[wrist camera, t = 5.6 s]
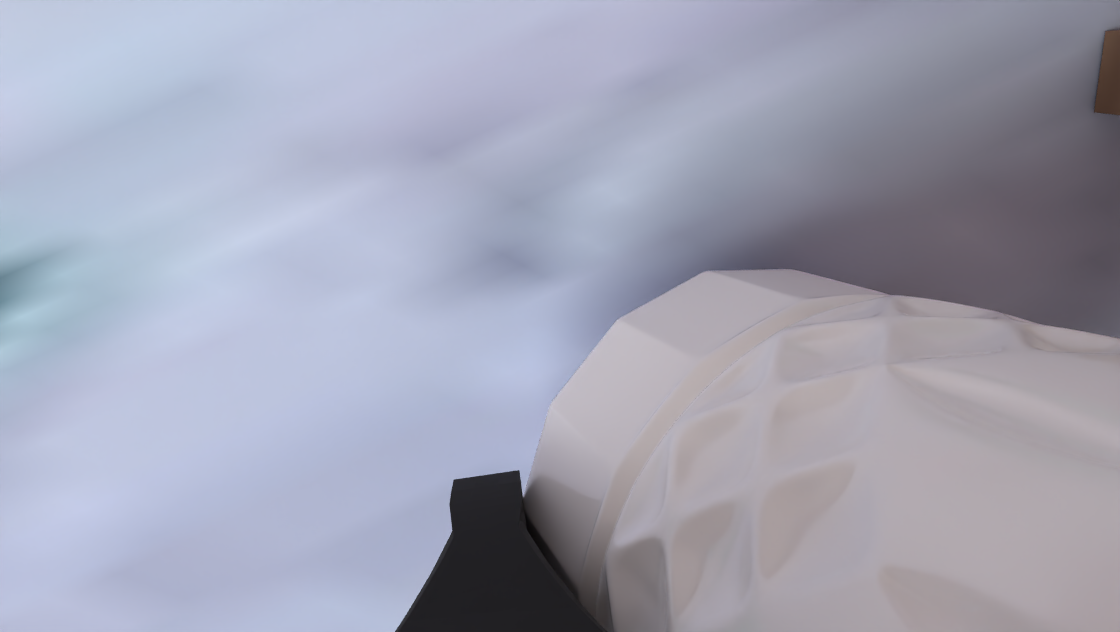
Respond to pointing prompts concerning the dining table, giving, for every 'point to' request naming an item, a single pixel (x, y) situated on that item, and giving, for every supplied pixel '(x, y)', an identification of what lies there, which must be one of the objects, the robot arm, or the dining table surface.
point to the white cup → (833, 465)
